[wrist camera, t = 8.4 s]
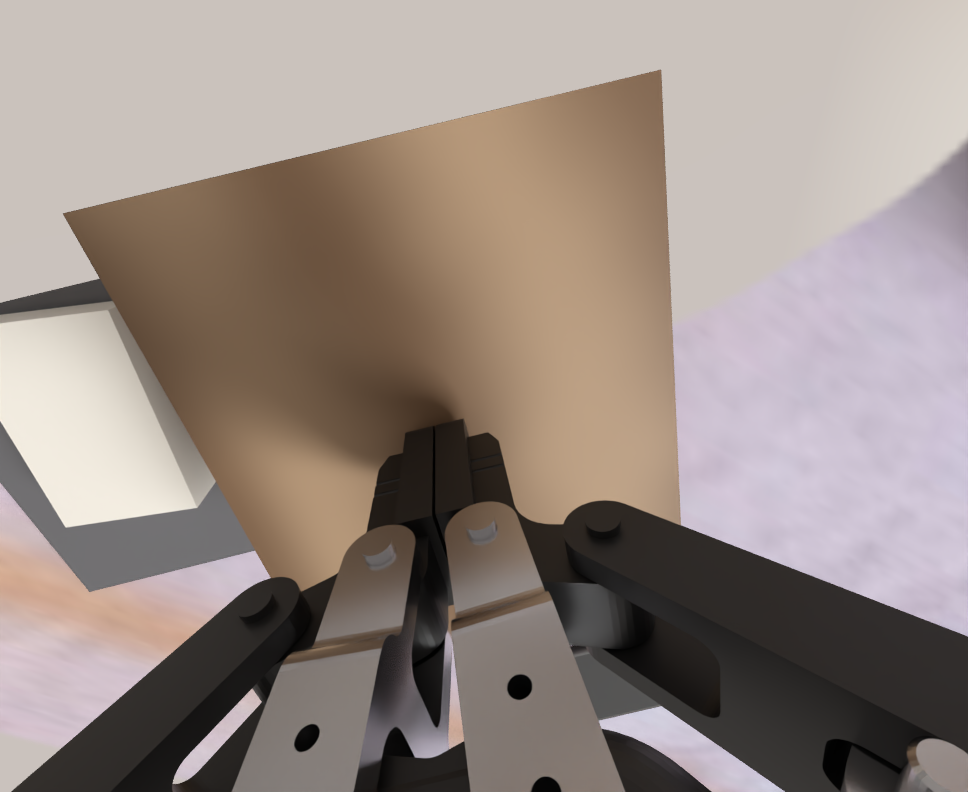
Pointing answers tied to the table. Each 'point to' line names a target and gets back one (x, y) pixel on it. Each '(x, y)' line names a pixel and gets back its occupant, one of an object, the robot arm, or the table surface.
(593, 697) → the smartphone
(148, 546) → the rubber mat
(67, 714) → the table surface
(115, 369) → the card box
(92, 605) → the table surface
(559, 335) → the brown wooden block
